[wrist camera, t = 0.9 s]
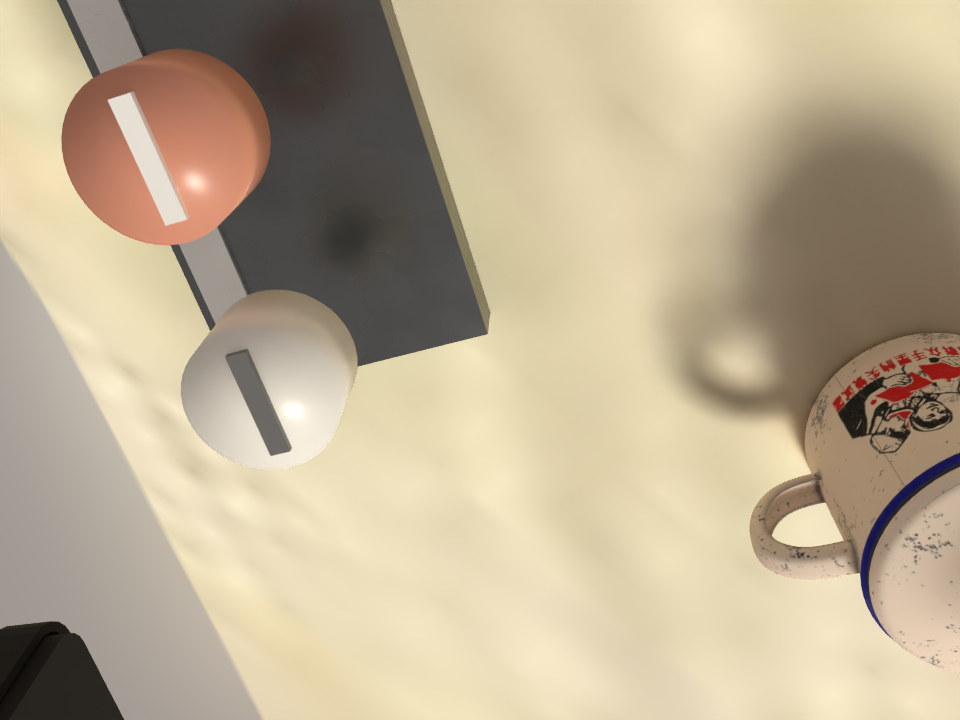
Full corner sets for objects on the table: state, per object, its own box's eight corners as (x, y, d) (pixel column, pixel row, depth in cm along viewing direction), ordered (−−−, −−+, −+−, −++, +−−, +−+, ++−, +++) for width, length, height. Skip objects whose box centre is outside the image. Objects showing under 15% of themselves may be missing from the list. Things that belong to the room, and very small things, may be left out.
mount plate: (-6, -205, 29) (-45, -213, 27) (288, -320, 27) (268, -338, 25) (254, 372, 37) (239, 398, 36) (490, 312, 36) (487, 336, 34)
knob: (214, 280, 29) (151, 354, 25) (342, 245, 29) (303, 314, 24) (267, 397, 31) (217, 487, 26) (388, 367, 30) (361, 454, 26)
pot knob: (117, 62, 27) (24, 97, 22) (256, 17, 26) (192, 43, 21) (181, 205, 28) (108, 266, 24) (313, 166, 28) (266, 222, 23)
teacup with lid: (1027, 296, 34) (1242, 468, 24) (1036, 493, 38) (1225, 716, 28) (705, 371, 36) (772, 559, 26) (744, 551, 40) (817, 778, 30)
